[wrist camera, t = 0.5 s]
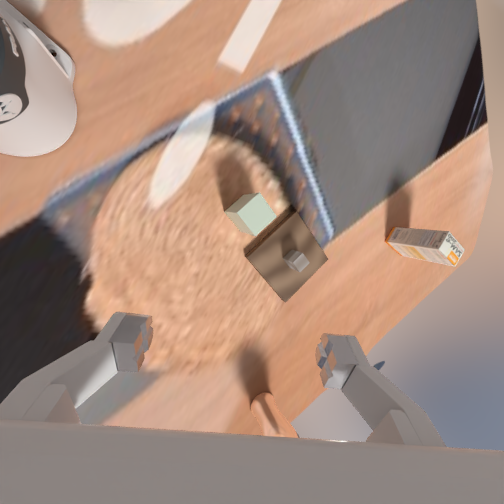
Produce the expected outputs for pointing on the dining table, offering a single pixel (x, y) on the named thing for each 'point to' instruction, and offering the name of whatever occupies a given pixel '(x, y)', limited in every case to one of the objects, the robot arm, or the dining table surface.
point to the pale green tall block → (251, 213)
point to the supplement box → (426, 245)
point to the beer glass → (271, 417)
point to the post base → (279, 249)
